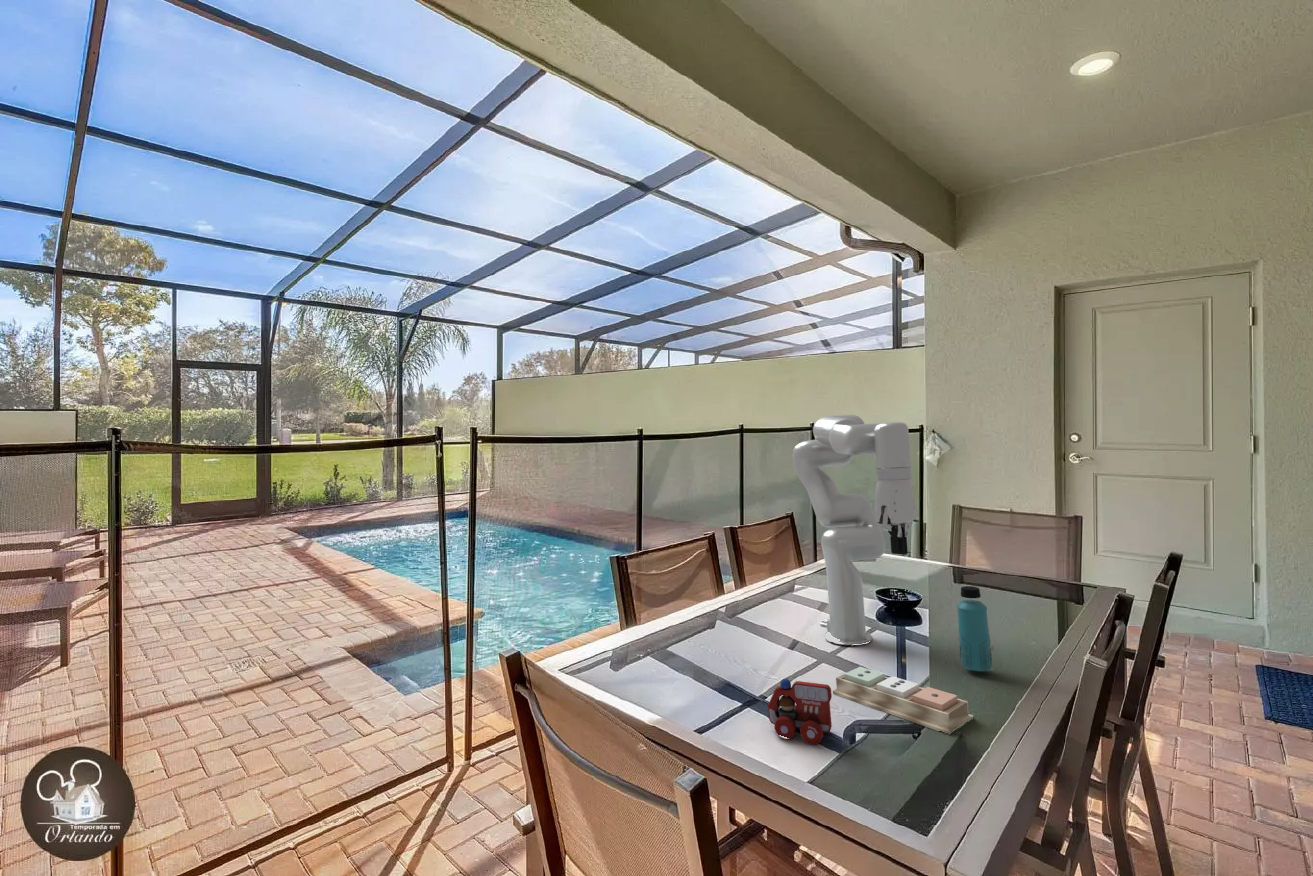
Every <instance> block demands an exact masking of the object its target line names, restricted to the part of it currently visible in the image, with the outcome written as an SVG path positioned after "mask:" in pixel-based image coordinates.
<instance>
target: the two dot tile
mask: <svg viewBox="0 0 1313 876" xmlns="http://www.w3.org/2000/svg"><path fill="white" fill-rule="evenodd" d="M843 675H844V679H845V680H847V681H850V682H853V683H856V684H860V685H863V686H866V687H871V686H873V685H875V684H877V683H879V682H881V681H883V680H884V676H885V673H883V672H879V671H876V670H872V669H869V668H866V667H864V666H863V667H862V666H858V667H857V668H854V669H852V670H849V671H847V672H845V673H844V674H843Z"/></svg>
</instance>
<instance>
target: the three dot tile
mask: <svg viewBox="0 0 1313 876" xmlns="http://www.w3.org/2000/svg"><path fill="white" fill-rule="evenodd" d="M876 685H877V690H878V691H881V692H884V693H887V694H890V695H893V696H896V697H899V698H902V699H905V698H907V697H909V696H911V695H913V694H914V693H916V692H918V691H919V687H920V684H919V683H917V682H913V681H910V680H906V679H903V678H899V677H896V676H890V677H888V679H886V680H884V681H882V682H880V683H878V684H876Z"/></svg>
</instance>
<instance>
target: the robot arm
mask: <svg viewBox="0 0 1313 876" xmlns="http://www.w3.org/2000/svg"><path fill="white" fill-rule="evenodd" d="M812 433H813V437H814V438H815V439H809V440H804V441H801V442H799V443H798V444H796V445H795V446H794V448H793V450H792V463H793V468H794V470H795V473H796V474H797V477H798V478H799V481H800V482H801V483H802V485H803V486H804V488H805V490H806V492H807V493H808V497H809V501H810V503H811V505H812V508H813V512H814V515H815V517H816V520H817V522H818V523H819V524H820V525H821V527H824V528H828V529H827V530H826V531H824V532H823V534H822V535H821V538H820V544H821V545H820V546H821V549H822V550H821V551H822V555H823V558H824V559H823V560H824V563H825V570H826V571H825V572H826V583H827V597H828V599H827V600H828V612H829V614H828V615H829V618H825V617H824V618H822V619H821V622H820V623H819V625H820V627H821V628H826V633H827V632H830V633H831V635H832V636H833V637H835V638H837V639H840V641H839V642H842V643H847V644H862V643H866V642H869V641H871V640H872V641H873V636H872V634H871V633H869V632H868V631H866V619H865V618H866V617H865V616H866V615H865V603H864V601H865V600H864V588H863V587H864V586H863V577H862V574H861V572H860V571H859V569H858V568H857V567H856V566H855V564H854V563H853V562H854V561H861V560H870V559H871V560H872V559H878V558H880V557H882V556H883V555H884V553H885V551H886V539H885V537H884V534H883V531H885V532H887V534H888V536H889V538H890V539H889V540H890V552H891V554H894V555H901V556H903V555H907V554H908V553H909V551H908V550H909V549H908V540H907V537H908V535H909V534H908V532H909V528H910V527H911V526H912V525H913V521H915V519H916V503H915V502H916V501H915V493H914V489H913V483H912V481H913V479H912V477H913V476H912V465H911V464H912V463H911V461H912V460H911V448H910V437H909V436H910V435H909V433H910V432H909V426H908V425H907V424H906V423H905V422H885V423H883V422H881V423H865V421H864V420H863V419H862V418H861V417H860V416H858V415H854V414H844V415H843V414H842V415H827V416H826V415H825V416H823V417H821V418H819V419H817V420H816V422H815V423H814V424H813V427H812ZM862 455H863V456H864V455H875V463H876V464H875V465H876V480H877V482H876V484H875V495H874V496H875V497H874V498H875V499H874V510H873V507H872V505H871V503H870V501H869V500H868V498H866V497H865V496H864V495H862V494H859V493H845V494H843V493H840V492H839V491H838V488H837V486H836V483H835V481H834V480H833V478H831V476H830V475H828V474H827V473H826V472H824V471H823V470H822V469H820V468H826V467H827V468H829V467H842V466H846V465H848V464H849V463H850V462H852V460H853V459H854V457H855V456H862ZM880 525H882V526H880ZM881 527H882V529H881ZM866 633H868V634H866ZM872 641H871V642H872Z"/></svg>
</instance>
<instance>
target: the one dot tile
mask: <svg viewBox="0 0 1313 876" xmlns="http://www.w3.org/2000/svg"><path fill="white" fill-rule="evenodd" d="M912 698H913V702H915V703H918V704H921V705H924V706H927V707H930V708H933V709H936V710H939V711H942V712H944V711H946V710H947V709H949V708H951V707H952V706H954V705H956V704H957V703H958V699H959V698H958V695H957V694H954V693H950V692H946V691H943V690H940V689H936V688H933V687H930V686H927V687H925V688H924V689H923V690H921V691H919V692H918V693H916V694H914V695H912Z"/></svg>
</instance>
